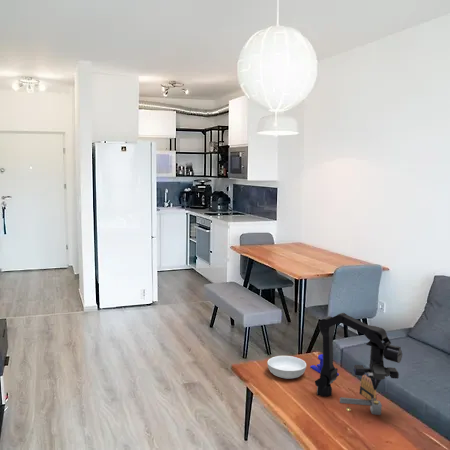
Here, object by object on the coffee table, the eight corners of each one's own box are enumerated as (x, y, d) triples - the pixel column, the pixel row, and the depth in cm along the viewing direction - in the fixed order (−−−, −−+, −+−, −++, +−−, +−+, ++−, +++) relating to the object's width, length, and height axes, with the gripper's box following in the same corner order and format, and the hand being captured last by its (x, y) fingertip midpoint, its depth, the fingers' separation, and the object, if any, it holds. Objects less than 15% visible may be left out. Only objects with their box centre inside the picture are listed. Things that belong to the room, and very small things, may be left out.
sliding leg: (371, 414, 209) (372, 403, 208) (368, 405, 217) (369, 394, 217) (381, 414, 209) (381, 403, 208) (377, 406, 217) (378, 395, 216)
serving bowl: (288, 364, 266) (289, 352, 265) (313, 378, 248) (314, 366, 247) (259, 371, 255) (259, 359, 254) (283, 386, 237) (283, 373, 236)
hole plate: (343, 418, 207) (343, 410, 207) (339, 404, 220) (340, 397, 220) (384, 421, 205) (385, 414, 205) (378, 407, 218) (379, 400, 218)
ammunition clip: (376, 405, 220) (377, 381, 219) (372, 405, 220) (374, 381, 218) (362, 395, 230) (363, 371, 229) (359, 395, 230) (360, 372, 228)
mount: (338, 376, 252) (339, 360, 251) (328, 378, 248) (329, 362, 247) (320, 365, 265) (321, 351, 264) (310, 368, 261) (310, 353, 260)
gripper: (358, 361, 201) (356, 396, 203) (403, 365, 199) (400, 399, 201) (354, 352, 212) (352, 384, 214) (396, 355, 210) (394, 388, 212)
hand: (374, 389), depth 210 cm, fingers closed
